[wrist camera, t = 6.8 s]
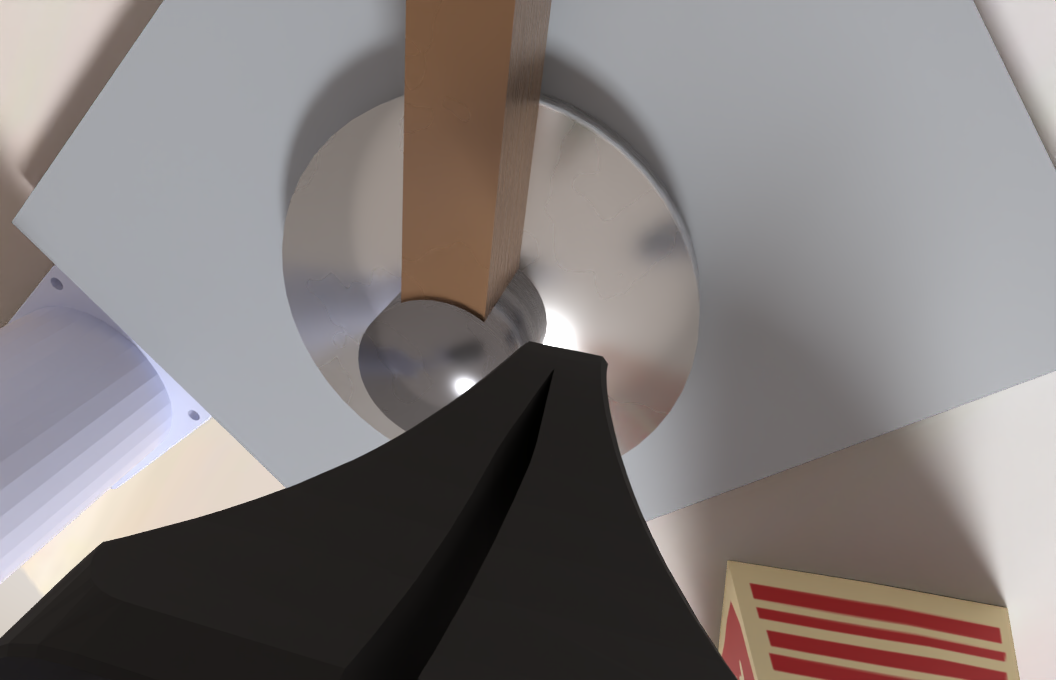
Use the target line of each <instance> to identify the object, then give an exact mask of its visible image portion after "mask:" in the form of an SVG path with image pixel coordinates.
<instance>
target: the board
mask: <svg viewBox="0 0 1056 680" xmlns="http://www.w3.org/2000/svg"><path fill="white" fill-rule="evenodd" d="M405 27H406V0H164V1H163V2H162V4H161V5H160V6H159V8H158V9H157V11H156V12H155V14H154V15H153V17H152V18H151V20H150V21H149V23H148V24H147V25H146V27H145V28H144V30H143V31H142V33H141V34H140V36H139V37H138V39H137V40H136V41H135V43H134V44H133V46H132V47H131V49H130V50H129V52H128V53H127V55H126V56H125V58H124V59H123V60H122V62H121V63H120V65H119V66H118V68H117V69H116V71H115V72H114V74H113V75H112V76H111V78H110V79H109V81H108V82H107V84H106V85H105V87H104V88H103V90H102V91H101V92H100V94H99V95H98V97H97V98H96V100H95V101H94V103H93V104H92V106H91V107H90V109H89V110H88V111H87V113H86V114H85V116H84V117H83V119H82V120H81V122H80V123H79V125H78V126H77V127H76V129H75V130H74V132H73V133H72V135H71V136H70V138H69V139H68V141H67V142H66V144H65V145H64V146H63V148H62V149H61V151H60V152H59V154H58V155H57V157H56V158H55V160H54V161H53V162H52V164H51V165H50V167H49V168H48V170H47V171H46V173H45V174H44V176H43V177H42V179H41V180H40V181H39V183H38V184H37V186H36V187H35V189H34V190H33V192H32V193H31V195H30V196H29V197H28V199H27V200H26V202H25V203H24V205H23V206H22V208H21V209H20V211H19V212H18V213H17V215H16V216H15V218H14V219H13V221H12V223H13V224H14V225H15V226H16V227H17V228H18V229H19V230H20V231H21V232H22V233H23V234H24V235H25V236H26V237H27V238H28V239H29V240H30V241H31V242H32V243H33V244H34V245H36V246H37V247H38V248H39V249H40V250H41V251H42V252H43V253H44V254H45V255H46V256H47V257H48V258H49V259H50V260H51V261H52V262H53V263H54V264H55V265H56V266H57V267H58V268H59V269H60V270H61V271H62V272H63V273H64V274H65V275H67V276H68V277H69V278H70V279H71V280H72V281H73V282H74V283H75V284H76V285H77V286H78V287H79V288H80V289H81V290H82V291H83V292H84V293H85V294H86V295H87V296H88V297H89V298H90V299H91V300H92V301H93V302H94V303H95V304H96V305H98V306H99V307H100V308H101V309H102V310H103V311H104V312H105V313H106V314H107V315H108V316H109V317H110V318H111V319H112V320H113V321H114V322H115V323H116V324H117V325H118V326H119V327H120V328H121V329H122V330H123V331H124V332H125V333H126V334H127V335H129V336H130V337H131V338H132V339H133V340H134V341H135V342H136V343H137V344H138V345H139V346H140V347H141V348H142V349H143V350H144V351H145V352H146V353H147V354H148V355H149V356H150V357H151V358H152V359H153V360H154V361H155V362H156V363H157V364H158V365H160V366H161V367H162V368H163V369H164V370H165V371H166V372H167V373H168V374H169V375H170V376H171V377H172V378H173V379H174V380H175V381H176V382H177V383H178V384H179V385H180V386H181V387H182V388H183V389H184V390H185V391H186V392H187V393H188V394H189V395H190V396H192V397H193V398H194V399H195V400H196V401H197V402H198V403H199V404H200V405H201V406H202V407H203V408H204V409H205V410H206V411H207V412H208V413H209V414H210V415H211V416H212V417H213V418H214V419H215V420H216V421H217V422H218V423H219V424H220V425H221V426H223V427H224V428H225V429H226V430H227V431H228V432H229V433H230V434H231V435H232V436H233V437H234V438H235V439H236V440H237V441H238V442H239V443H240V444H241V445H242V446H243V447H244V448H245V449H246V450H247V451H248V452H249V453H250V454H251V455H252V456H254V457H255V458H256V459H257V460H258V461H259V462H260V463H261V464H262V465H263V466H264V467H265V468H266V469H267V470H268V471H269V472H270V473H271V474H272V475H273V476H274V477H275V478H276V479H277V480H278V481H279V482H280V483H281V484H282V485H283V486H285V487H286V488H288V487H291V486H293V485H296V484H298V483H301V482H303V481H305V480H308V479H310V478H312V477H315V476H317V475H319V474H321V473H324V472H326V471H328V470H331V469H333V468H335V467H338V466H340V465H342V464H345V463H347V462H349V461H352V460H354V459H356V458H358V457H360V456H362V455H364V454H366V453H368V452H370V451H372V450H374V449H376V448H377V447H379V446H381V445H383V444H385V443H387V442H389V441H390V439H388V438H387V437H385V436H384V435H382V434H381V433H379V432H378V431H377V430H375V429H374V428H373V427H372V426H371V425H369V424H368V423H367V422H366V421H364V420H363V419H362V418H361V417H360V416H359V415H358V414H357V413H356V412H355V411H354V410H352V409H351V408H350V407H349V406H348V405H347V404H346V403H345V402H344V401H343V400H342V398H341V397H340V396H339V395H338V394H337V392H336V391H335V390H334V389H333V388H332V387H331V385H330V384H329V383H328V382H327V380H326V379H325V377H324V376H323V374H322V373H321V372H320V370H319V369H318V367H317V366H316V364H315V363H314V361H313V359H312V358H311V356H310V354H309V352H308V350H307V348H306V347H305V345H304V343H303V341H302V339H301V336H300V334H299V332H298V329H297V327H296V324H295V322H294V319H293V316H292V313H291V309H290V306H289V302H288V299H287V295H286V289H285V283H284V276H283V265H282V242H283V233H284V224H285V220H286V216H287V212H288V208H289V204H290V201H291V198H292V195H293V193H294V191H295V189H296V186H297V184H298V182H299V179H300V177H301V175H302V174H303V172H304V171H305V169H306V167H307V166H308V164H309V163H310V161H311V160H312V158H313V157H314V155H315V154H316V153H317V152H318V151H319V150H320V148H321V147H322V146H323V145H324V144H325V143H326V142H327V141H328V140H329V138H330V137H331V136H332V135H334V134H335V133H336V132H337V131H339V130H340V129H341V128H342V127H344V126H345V125H346V124H347V123H349V122H350V121H351V120H353V119H354V118H356V117H358V116H360V115H362V114H363V113H365V112H367V111H369V110H371V109H372V108H374V107H376V106H378V105H380V104H383V103H385V102H387V101H390V100H392V99H394V98H396V97H399V96H402V95H404V89H405ZM540 92H543V93H545V94H548V95H550V96H553V97H555V98H558V99H560V100H562V101H565V102H567V103H570V104H572V105H574V106H576V107H577V108H579V109H581V110H583V111H584V112H586V113H588V114H590V115H591V116H593V117H595V118H597V119H598V120H600V121H601V122H603V123H604V124H605V125H606V126H608V127H609V128H610V129H612V130H613V131H614V132H616V133H617V134H618V135H620V136H621V137H622V138H623V139H625V140H626V141H627V142H628V143H629V144H630V145H631V146H632V147H633V148H634V149H635V150H636V151H637V152H638V153H639V154H640V155H641V156H642V157H643V158H644V159H645V160H646V161H647V162H648V164H649V165H650V166H651V167H652V169H653V170H654V171H655V173H656V174H657V175H658V177H659V178H660V179H661V181H662V182H663V183H664V185H665V186H666V187H667V189H668V191H669V193H670V194H671V196H672V198H673V200H674V201H675V203H676V205H677V207H678V209H679V210H680V212H681V214H682V217H683V219H684V222H685V224H686V227H687V229H688V232H689V235H690V237H691V240H692V243H693V248H694V252H695V256H696V260H697V265H698V271H699V283H700V315H699V330H698V343H697V347H696V352H695V356H694V361H693V365H692V368H691V371H690V373H689V376H688V379H687V381H686V384H685V386H684V389H683V391H682V392H681V394H680V396H679V398H678V399H677V401H676V403H675V404H674V406H673V408H672V409H671V411H670V412H669V413H668V415H667V416H666V417H665V418H664V420H663V421H662V422H661V423H660V424H659V426H658V427H657V428H656V429H655V430H654V431H653V432H652V433H651V434H650V435H649V436H647V437H646V438H645V439H644V440H643V441H642V442H641V443H640V444H639V445H637V446H636V447H634V448H633V449H631V450H630V451H628V452H627V453H625V454H624V455H622V456H621V457H622V460H623V463H624V466H625V469H626V472H627V475H628V478H629V481H630V484H631V487H632V489H633V492H634V495H635V497H636V500H637V502H638V505H639V507H640V510H641V512H642V514H643V517H644V519H645V521H649V520H652V519H655V518H657V517H660V516H663V515H665V514H668V513H671V512H674V511H676V510H679V509H682V508H684V507H687V506H690V505H693V504H695V503H698V502H701V501H703V500H706V499H709V498H712V497H714V496H717V495H720V494H722V493H725V492H728V491H731V490H733V489H736V488H739V487H741V486H744V485H747V484H750V483H752V482H755V481H758V480H760V479H763V478H766V477H769V476H771V475H774V474H777V473H779V472H782V471H785V470H788V469H790V468H793V467H796V466H798V465H801V464H804V463H807V462H809V461H812V460H815V459H817V458H820V457H823V456H826V455H828V454H831V453H834V452H836V451H839V450H842V449H845V448H847V447H850V446H853V445H855V444H858V443H861V442H864V441H866V440H869V439H872V438H874V437H877V436H880V435H883V434H885V433H888V432H891V431H893V430H896V429H899V428H902V427H904V426H907V425H910V424H912V423H915V422H918V421H921V420H923V419H926V418H929V417H931V416H934V415H937V414H940V413H942V412H945V411H948V410H950V409H953V408H956V407H959V406H961V405H964V404H967V403H969V402H972V401H975V400H978V399H980V398H983V397H986V396H988V395H991V394H994V393H997V392H999V391H1002V390H1005V389H1007V388H1010V387H1013V386H1016V385H1018V384H1021V383H1024V382H1027V381H1029V380H1032V379H1035V378H1037V377H1040V376H1043V375H1046V374H1048V373H1051V372H1054V371H1056V170H1055V168H1054V166H1053V164H1052V161H1051V159H1050V157H1049V155H1048V153H1047V151H1046V149H1045V147H1044V145H1043V143H1042V141H1041V139H1040V137H1039V135H1038V133H1037V131H1036V129H1035V127H1034V124H1033V122H1032V120H1031V118H1030V116H1029V114H1028V112H1027V110H1026V108H1025V106H1024V104H1023V102H1022V100H1021V98H1020V96H1019V94H1018V92H1017V90H1016V87H1015V85H1014V83H1013V81H1012V79H1011V77H1010V75H1009V73H1008V71H1007V69H1006V67H1005V65H1004V63H1003V61H1002V59H1001V57H1000V55H999V53H998V50H997V48H996V46H995V44H994V42H993V40H992V38H991V36H990V34H989V32H988V30H987V28H986V26H985V24H984V22H983V20H982V18H981V16H980V13H979V11H978V9H977V7H976V5H975V3H974V1H973V0H552V2H551V10H550V18H549V26H548V34H547V43H546V51H545V59H544V67H543V75H542V83H541V91H540Z"/></svg>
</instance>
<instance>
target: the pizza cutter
mask: <svg viewBox="0 0 1056 680" xmlns="http://www.w3.org/2000/svg"><path fill="white" fill-rule="evenodd" d="M551 2H552V0H406V27H405V89H404V95H402V96H399V97H396V98H394V99H392V100H390V101H387V102H385V103H383V104H380V105H378V106H376V107H374V108H372V109H371V110H369V111H367V112H365V113H363V114H362V115H360V116H358V117H356V118H354V119H353V120H351V121H350V122H349V123H347V124H346V125H345V126H344V127H342V128H341V129H340V130H339V131H337V132H336V133H335V134H334V135H332V136H331V137H330V138H329V140H328V141H327V142H326V143H325V144H324V145H323V146H322V147H321V148H320V150H319V151H318V152H317V153H316V154H315V155H314V157H313V158H312V160H311V161H310V163H309V164H308V166H307V167H306V169H305V171H304V172H303V174H302V175H301V177H300V179H299V182H298V184H297V186H296V189H295V191H294V193H293V195H292V198H291V201H290V204H289V208H288V212H287V216H286V220H285V224H284V233H283V242H282V265H283V276H284V283H285V289H286V295H287V299H288V302H289V306H290V309H291V313H292V316H293V319H294V322H295V324H296V327H297V329H298V332H299V334H300V336H301V339H302V341H303V343H304V345H305V347H306V348H307V350H308V352H309V354H310V356H311V358H312V359H313V361H314V363H315V364H316V366H317V367H318V369H319V370H320V372H321V373H322V374H323V376H324V377H325V379H326V380H327V382H328V383H329V384H330V385H331V387H332V388H333V389H334V390H335V391H336V392H337V394H338V395H339V396H340V397H341V398H342V400H343V401H344V402H345V403H346V404H347V405H348V406H349V407H350V408H351V409H352V410H354V411H355V412H356V413H357V414H358V415H359V416H360V417H361V418H362V419H363V420H364V421H366V422H367V423H368V424H369V425H371V426H372V427H373V428H374V429H375V430H377V431H378V432H379V433H381V434H382V435H384V436H385V437H387V438H388V439H390V440H392V439H394V438H396V437H397V436H399V435H401V434H402V433H404V432H406V431H407V430H409V429H411V428H412V427H414V426H416V425H417V424H419V423H420V422H422V421H423V420H425V419H426V418H428V417H429V416H431V415H432V414H434V413H435V412H437V411H438V410H440V409H441V408H443V407H444V406H446V405H447V404H449V403H450V402H452V401H453V400H454V399H456V398H457V397H459V396H460V395H461V394H463V393H464V392H465V391H467V390H468V389H469V388H471V387H472V386H473V385H475V384H476V383H477V382H479V381H480V380H481V379H482V378H484V377H485V376H486V375H487V374H489V373H490V372H491V371H492V370H494V369H495V368H496V367H497V366H499V365H500V364H501V363H502V362H503V361H505V360H506V359H507V358H508V357H509V356H511V355H512V354H513V353H514V352H515V351H516V350H518V349H519V348H520V347H521V346H522V345H524V344H525V343H527V342H529V341H532V342H537V343H541V344H546V345H551V346H556V347H561V348H565V349H570V350H575V351H580V352H585V353H590V354H594V355H599V356H603V357H604V359H605V360H606V361H607V363H608V368H607V392H608V400H609V407H610V412H611V417H612V422H613V426H614V430H615V434H616V438H617V443H618V446H619V450H620V453H621V456H622V455H624V454H625V453H627V452H628V451H630V450H631V449H633V448H634V447H636V446H637V445H639V444H640V443H641V442H642V441H643V440H644V439H645V438H646V437H647V436H649V435H650V434H651V433H652V432H653V431H654V430H655V429H656V428H657V427H658V426H659V424H660V423H661V422H662V421H663V420H664V418H665V417H666V416H667V415H668V413H669V412H670V411H671V409H672V408H673V406H674V404H675V403H676V401H677V399H678V398H679V396H680V394H681V392H682V391H683V389H684V386H685V384H686V381H687V379H688V376H689V373H690V371H691V368H692V365H693V361H694V356H695V352H696V347H697V343H698V330H699V315H700V283H699V271H698V265H697V260H696V256H695V252H694V248H693V243H692V240H691V237H690V235H689V232H688V229H687V227H686V224H685V222H684V219H683V217H682V214H681V212H680V210H679V209H678V207H677V205H676V203H675V201H674V200H673V198H672V196H671V194H670V193H669V191H668V189H667V187H666V186H665V185H664V183H663V182H662V181H661V179H660V178H659V177H658V175H657V174H656V173H655V171H654V170H653V169H652V167H651V166H650V165H649V164H648V162H647V161H646V160H645V159H644V158H643V157H642V156H641V155H640V154H639V153H638V152H637V151H636V150H635V149H634V148H633V147H632V146H631V145H630V144H629V143H628V142H627V141H626V140H625V139H623V138H622V137H621V136H620V135H618V134H617V133H616V132H614V131H613V130H612V129H610V128H609V127H608V126H606V125H605V124H604V123H603V122H601V121H600V120H598V119H597V118H595V117H593V116H591V115H590V114H588V113H586V112H584V111H583V110H581V109H579V108H577V107H576V106H574V105H572V104H570V103H567V102H565V101H562V100H560V99H558V98H555V97H553V96H550V95H548V94H545V93H543V92H540V91H541V83H542V75H543V67H544V59H545V51H546V43H547V34H548V26H549V18H550V10H551Z"/></svg>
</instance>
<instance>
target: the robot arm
mask: <svg viewBox="0 0 1056 680" xmlns="http://www.w3.org/2000/svg"><path fill="white" fill-rule="evenodd" d="M607 368H608V363H607V361H606V360H605V359H604V357H603V356H599V355H594V354H590V353H585V352H580V351H575V350H570V349H565V348H561V347H556V346H551V345H546V344H541V343H537V342H532V341H529V342H527V343H525V344H524V345H522V346H521V347H520V348H519V349H518V350H516V351H515V352H514V353H513V354H512V355H511V356H509V357H508V358H507V359H506V360H505V361H503V362H502V363H501V364H500V365H499V366H497V367H496V368H495V369H494V370H492V371H491V372H490V373H489V374H487V375H486V376H485V377H484V378H482V379H481V380H480V381H479V382H477V383H476V384H475V385H473V386H472V387H471V388H469V389H468V390H467V391H465V392H464V393H463V394H461V395H460V396H459V397H457V398H456V399H454V400H453V401H452V402H450V403H449V404H447V405H446V406H444V407H443V408H441V409H440V410H438V411H437V412H435V413H434V414H432V415H431V416H429V417H428V418H426V419H425V420H423V421H422V422H420V423H419V424H417V425H416V426H414V427H412V428H411V429H409V430H407V431H406V432H404V433H402V434H401V435H399V436H397V437H396V438H394V439H392V440H390V441H389V442H387V443H385V444H383V445H381V446H379V447H377V448H376V449H374V450H372V451H370V452H368V453H366V454H364V455H362V456H360V457H358V458H356V459H354V460H352V461H349V462H347V463H345V464H342V465H340V466H338V467H335V468H333V469H331V470H328V471H326V472H324V473H321V474H319V475H317V476H315V477H312V478H310V479H308V480H305V481H303V482H301V483H298V484H296V485H293V486H291V487H288V488H285V489H283V490H280V491H277V492H274V493H272V494H269V495H266V496H263V497H261V498H258V499H255V500H252V501H249V502H246V503H243V504H240V505H237V506H234V507H231V508H228V509H225V510H222V511H218V512H215V513H212V514H208V515H205V516H202V517H199V518H195V519H191V520H187V521H184V522H180V523H176V524H172V525H169V526H165V527H161V528H157V529H153V530H150V531H146V532H142V533H138V534H135V535H131V536H127V537H123V538H119V539H114V540H110V541H106V542H102V543H101V544H100V545H99V546H98V547H96V548H95V549H94V550H93V551H92V552H91V553H90V554H88V555H87V556H86V557H85V558H84V559H83V560H82V561H81V562H80V563H79V564H78V565H77V566H75V567H74V568H73V569H72V570H71V571H70V572H69V573H68V574H67V575H66V576H65V577H64V578H63V579H62V580H60V581H59V582H58V583H57V584H56V585H55V586H54V587H53V588H52V589H51V590H50V591H49V592H48V593H47V594H46V595H45V596H44V597H43V598H42V599H41V600H40V601H39V602H38V603H36V605H34V607H32V608H31V609H30V610H29V611H28V612H27V613H26V614H25V615H24V616H23V617H22V618H21V619H20V620H19V621H18V622H17V623H16V624H15V625H14V626H12V628H10V629H9V630H8V631H7V632H6V633H5V634H4V635H3V636H2V637H1V638H0V680H738V679H737V678H736V676H735V675H734V674H733V672H732V671H731V669H730V668H729V666H728V665H727V664H726V662H725V661H724V659H723V657H722V656H721V654H720V653H719V651H718V650H717V648H716V647H715V645H714V644H713V642H712V641H711V639H710V638H709V636H708V635H707V633H706V632H705V630H704V629H703V627H702V626H701V624H700V622H699V621H698V619H697V617H696V616H695V614H694V612H693V610H692V609H691V607H690V605H689V603H688V602H687V600H686V598H685V596H684V595H683V593H682V591H681V589H680V588H679V586H678V584H677V582H676V581H675V579H674V577H673V576H672V574H671V572H670V570H669V569H668V567H667V565H666V563H665V561H664V559H663V557H662V555H661V553H660V551H659V549H658V547H657V545H656V543H655V541H654V539H653V537H652V535H651V533H650V530H649V528H648V526H647V524H646V521H645V519H644V517H643V514H642V512H641V510H640V507H639V505H638V502H637V500H636V497H635V495H634V492H633V489H632V487H631V484H630V481H629V478H628V475H627V472H626V469H625V466H624V463H623V460H622V457H621V453H620V450H619V446H618V443H617V438H616V434H615V430H614V426H613V422H612V417H611V412H610V407H609V400H608V392H607ZM211 417H212V416H211V415H210V414H209V413H208V412H207V411H206V410H205V409H204V408H203V407H202V406H201V405H200V404H199V403H198V402H197V401H196V400H195V399H194V398H193V397H192V396H190V395H189V394H188V393H187V392H186V391H185V390H184V389H183V388H182V387H181V386H180V385H179V384H178V383H177V382H176V381H175V380H174V379H173V378H172V377H171V376H170V375H169V374H168V373H167V372H166V371H165V370H164V369H163V368H162V367H161V366H160V365H158V364H157V363H156V362H155V361H154V360H153V359H152V358H151V357H150V356H149V355H148V354H147V353H146V352H145V351H144V350H143V349H142V348H141V347H140V346H139V345H138V344H137V343H136V342H135V341H134V340H133V339H132V338H131V337H130V336H129V335H127V334H126V333H125V332H124V331H123V330H122V329H121V328H120V327H119V326H118V325H117V324H116V323H115V322H114V321H113V320H112V319H111V318H110V317H109V316H108V315H107V314H106V313H105V312H104V311H103V310H102V309H101V308H100V307H99V306H98V305H96V304H95V303H94V302H93V301H92V300H91V299H90V298H89V297H88V296H87V295H86V294H85V293H84V292H83V291H82V290H81V289H80V288H79V287H78V286H77V285H76V284H75V283H74V282H73V281H72V280H71V279H70V278H69V277H68V276H67V275H65V274H64V273H63V272H62V271H61V270H60V269H59V268H58V267H57V266H56V265H54V266H53V267H52V268H51V269H50V270H49V272H48V273H47V274H46V276H45V277H44V278H43V279H42V281H41V282H40V283H39V284H38V286H37V287H36V288H35V289H34V291H33V292H32V293H31V294H30V296H29V297H28V298H27V299H26V301H25V302H24V303H23V305H22V306H21V307H20V308H19V310H18V311H17V312H16V313H15V315H14V316H13V317H12V318H11V320H10V321H9V322H8V323H7V325H6V326H4V327H2V328H0V584H1V583H2V582H3V581H4V580H6V579H7V578H8V577H9V576H10V575H11V574H13V573H14V572H15V571H16V570H17V569H18V568H19V567H21V566H22V565H23V564H24V563H25V562H26V561H27V560H29V559H30V558H31V557H32V556H33V555H34V554H35V553H37V552H38V551H39V550H40V549H41V548H42V547H43V546H45V545H46V544H47V543H48V542H49V541H50V540H51V539H53V538H54V537H55V536H56V535H57V534H58V533H59V532H61V531H62V530H63V529H64V528H65V527H66V526H67V525H69V524H70V523H71V522H72V521H73V520H74V519H75V518H77V517H78V516H79V515H80V514H81V513H82V512H83V511H85V510H86V509H87V508H88V507H89V506H90V505H91V504H93V503H94V502H95V501H96V500H97V499H98V498H99V497H101V496H102V495H103V494H104V493H105V492H106V491H107V490H109V489H110V488H111V489H116V488H118V487H120V486H121V485H122V484H124V483H125V482H126V481H127V480H129V479H130V478H131V477H133V476H134V475H135V474H137V473H138V472H139V471H141V470H142V469H143V468H145V467H146V466H147V465H149V464H150V463H151V462H153V461H154V460H155V459H157V458H158V457H159V456H161V455H162V454H163V453H165V452H166V451H167V450H169V449H170V448H171V447H173V446H174V445H175V444H177V443H178V442H179V441H181V440H182V439H183V438H185V437H186V436H187V435H189V434H190V433H191V432H193V431H194V430H195V429H197V428H198V427H199V426H201V425H202V424H203V423H205V422H206V421H207V420H209V419H210V418H211Z"/></svg>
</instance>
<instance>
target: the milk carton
mask: <svg viewBox="0 0 1056 680" xmlns="http://www.w3.org/2000/svg"><path fill="white" fill-rule="evenodd" d="M718 651H719V653H720V654H721V656H722V657H723V659H724V661H725V662H726V664H727V665H728V666H729V668H730V669H731V671H732V672H733V674H734V675H735V676H736V678H737V679H738V680H1020V678H1019V672H1018V666H1017V660H1016V655H1015V649H1014V643H1013V637H1012V632H1011V626H1010V620H1009V614H1008V609H1007V608H1004V607H999V606H993V605H988V604H982V603H977V602H971V601H966V600H960V599H955V598H950V597H944V596H939V595H933V594H928V593H922V592H917V591H911V590H906V589H900V588H895V587H889V586H884V585H878V584H873V583H868V582H862V581H855V580H849V579H843V578H836V577H830V576H824V575H818V574H811V573H805V572H799V571H792V570H786V569H780V568H774V567H767V566H761V565H755V564H748V563H742V562H736V561H729V560H728V561H727V571H726V580H725V589H724V599H723V608H722V617H721V627H720V636H719V646H718Z"/></svg>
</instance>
